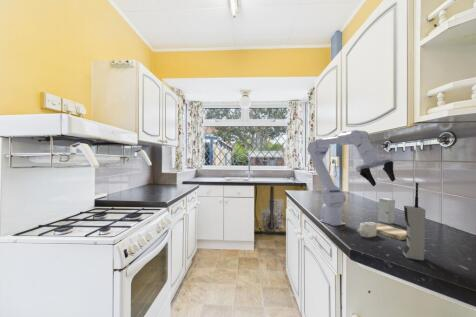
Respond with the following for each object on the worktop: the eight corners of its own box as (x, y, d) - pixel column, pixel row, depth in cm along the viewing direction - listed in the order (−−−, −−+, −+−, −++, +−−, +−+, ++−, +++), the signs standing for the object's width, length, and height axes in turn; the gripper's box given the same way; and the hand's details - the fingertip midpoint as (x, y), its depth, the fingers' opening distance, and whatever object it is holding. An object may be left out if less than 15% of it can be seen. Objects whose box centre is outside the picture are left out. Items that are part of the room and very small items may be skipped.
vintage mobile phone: (402, 253, 81) (404, 181, 81) (420, 256, 79) (422, 182, 79) (405, 258, 78) (407, 182, 77) (424, 260, 76) (426, 183, 75)
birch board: (364, 228, 109) (364, 225, 109) (379, 226, 113) (379, 223, 113) (400, 240, 95) (400, 236, 95) (415, 237, 99) (415, 233, 99)
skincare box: (377, 220, 124) (378, 197, 124) (384, 220, 125) (384, 197, 125) (388, 224, 118) (388, 199, 118) (394, 223, 119) (395, 199, 119)
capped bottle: (355, 235, 99) (355, 223, 99) (370, 232, 103) (370, 221, 103) (362, 238, 96) (362, 226, 96) (378, 235, 100) (378, 223, 100)
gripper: (353, 154, 97) (369, 183, 91) (388, 145, 97) (406, 174, 90) (349, 161, 104) (363, 189, 97) (382, 153, 103) (399, 181, 96)
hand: (384, 182), depth 94 cm, fingers open, 7 cm apart
